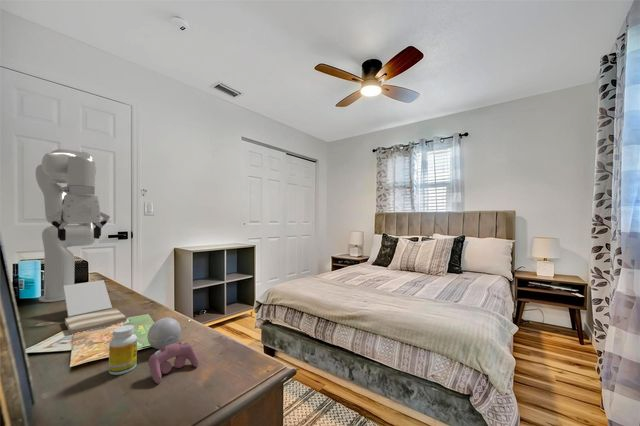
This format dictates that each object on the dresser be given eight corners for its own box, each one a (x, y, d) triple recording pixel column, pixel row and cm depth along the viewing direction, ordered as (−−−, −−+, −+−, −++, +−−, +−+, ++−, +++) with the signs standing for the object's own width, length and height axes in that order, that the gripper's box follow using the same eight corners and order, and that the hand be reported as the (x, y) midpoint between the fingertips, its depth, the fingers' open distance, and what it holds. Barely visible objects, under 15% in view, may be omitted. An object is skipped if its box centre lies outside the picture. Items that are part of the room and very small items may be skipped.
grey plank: (111, 310, 103) (112, 307, 102) (68, 319, 94) (68, 316, 93) (103, 282, 112) (103, 280, 111) (63, 288, 103) (63, 285, 102)
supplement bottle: (108, 368, 65) (108, 327, 65) (135, 360, 68) (135, 322, 68) (109, 378, 61) (109, 335, 61) (138, 370, 64) (138, 329, 64)
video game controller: (193, 367, 68) (187, 338, 70) (201, 365, 66) (195, 335, 68) (148, 386, 60) (144, 353, 62) (156, 384, 58) (150, 350, 60)
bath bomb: (184, 348, 75) (184, 319, 75) (150, 358, 69) (150, 326, 69) (176, 338, 81) (176, 311, 81) (144, 347, 75) (145, 317, 76)
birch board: (126, 321, 93) (126, 317, 93) (71, 335, 83) (71, 330, 83) (115, 312, 102) (115, 308, 102) (64, 322, 92) (65, 318, 92)
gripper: (52, 189, 88) (51, 242, 88) (114, 193, 103) (113, 238, 103) (44, 189, 92) (43, 240, 92) (105, 193, 107) (104, 237, 107)
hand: (80, 239), depth 98 cm, fingers open, 9 cm apart
